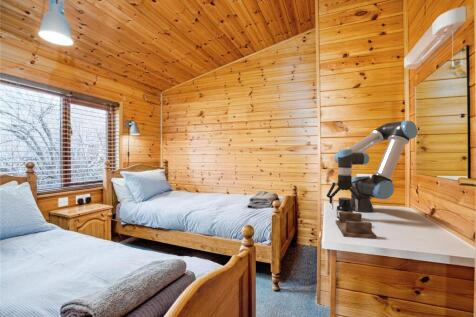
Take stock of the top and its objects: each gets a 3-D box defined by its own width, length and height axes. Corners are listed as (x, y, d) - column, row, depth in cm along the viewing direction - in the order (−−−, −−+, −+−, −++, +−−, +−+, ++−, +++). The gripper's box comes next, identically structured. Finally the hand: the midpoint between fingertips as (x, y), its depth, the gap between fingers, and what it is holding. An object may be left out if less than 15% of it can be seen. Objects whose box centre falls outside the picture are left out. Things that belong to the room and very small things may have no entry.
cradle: (362, 224, 130) (362, 212, 129) (376, 238, 108) (376, 224, 108) (335, 222, 133) (335, 211, 133) (343, 236, 111) (343, 222, 111)
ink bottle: (333, 217, 142) (333, 198, 142) (339, 215, 148) (339, 196, 148) (349, 221, 135) (350, 200, 135) (355, 218, 141) (355, 198, 141)
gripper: (323, 174, 140) (323, 209, 141) (369, 175, 135) (368, 212, 135) (322, 173, 148) (321, 207, 148) (365, 174, 142) (364, 209, 142)
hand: (344, 209), depth 142 cm, fingers open, 13 cm apart
